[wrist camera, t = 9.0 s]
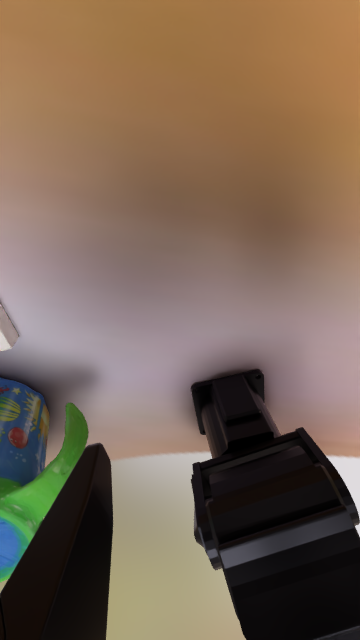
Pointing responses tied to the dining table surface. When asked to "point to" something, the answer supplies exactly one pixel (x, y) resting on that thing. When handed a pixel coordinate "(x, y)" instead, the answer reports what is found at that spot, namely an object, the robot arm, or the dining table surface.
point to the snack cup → (30, 466)
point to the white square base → (6, 331)
